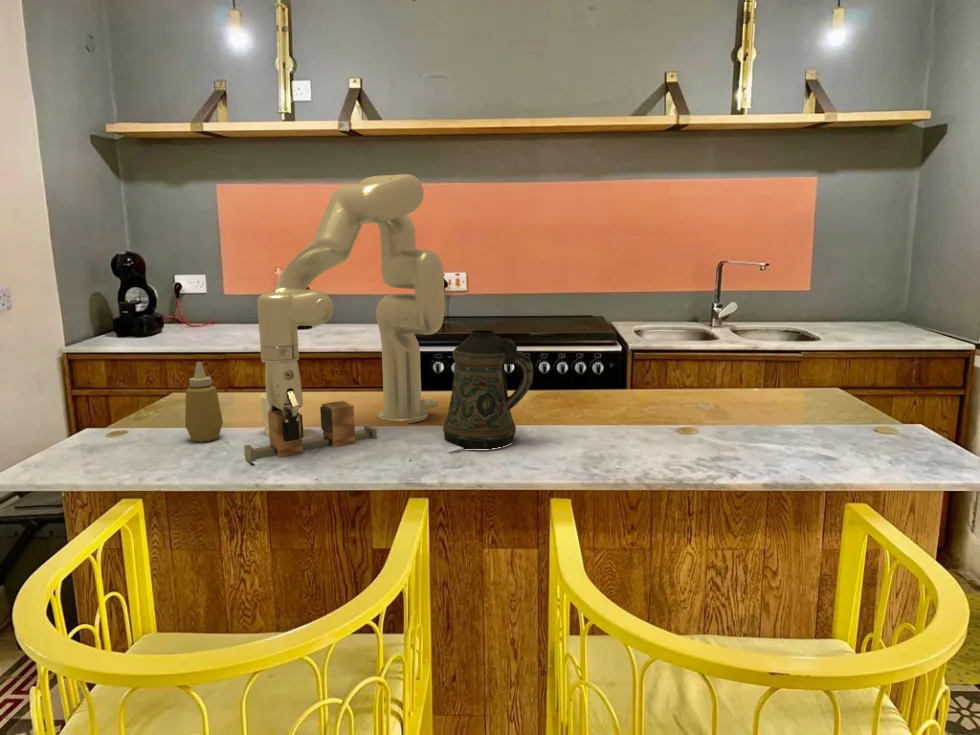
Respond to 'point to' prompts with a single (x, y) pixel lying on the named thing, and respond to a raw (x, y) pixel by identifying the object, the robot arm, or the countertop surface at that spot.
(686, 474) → the countertop surface
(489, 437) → the beer stein
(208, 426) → the squeeze bottle
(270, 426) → the brown capped cube
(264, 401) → the white cup
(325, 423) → the wooden block
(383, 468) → the countertop surface
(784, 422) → the countertop surface
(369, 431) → the rail
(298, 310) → the robot arm
